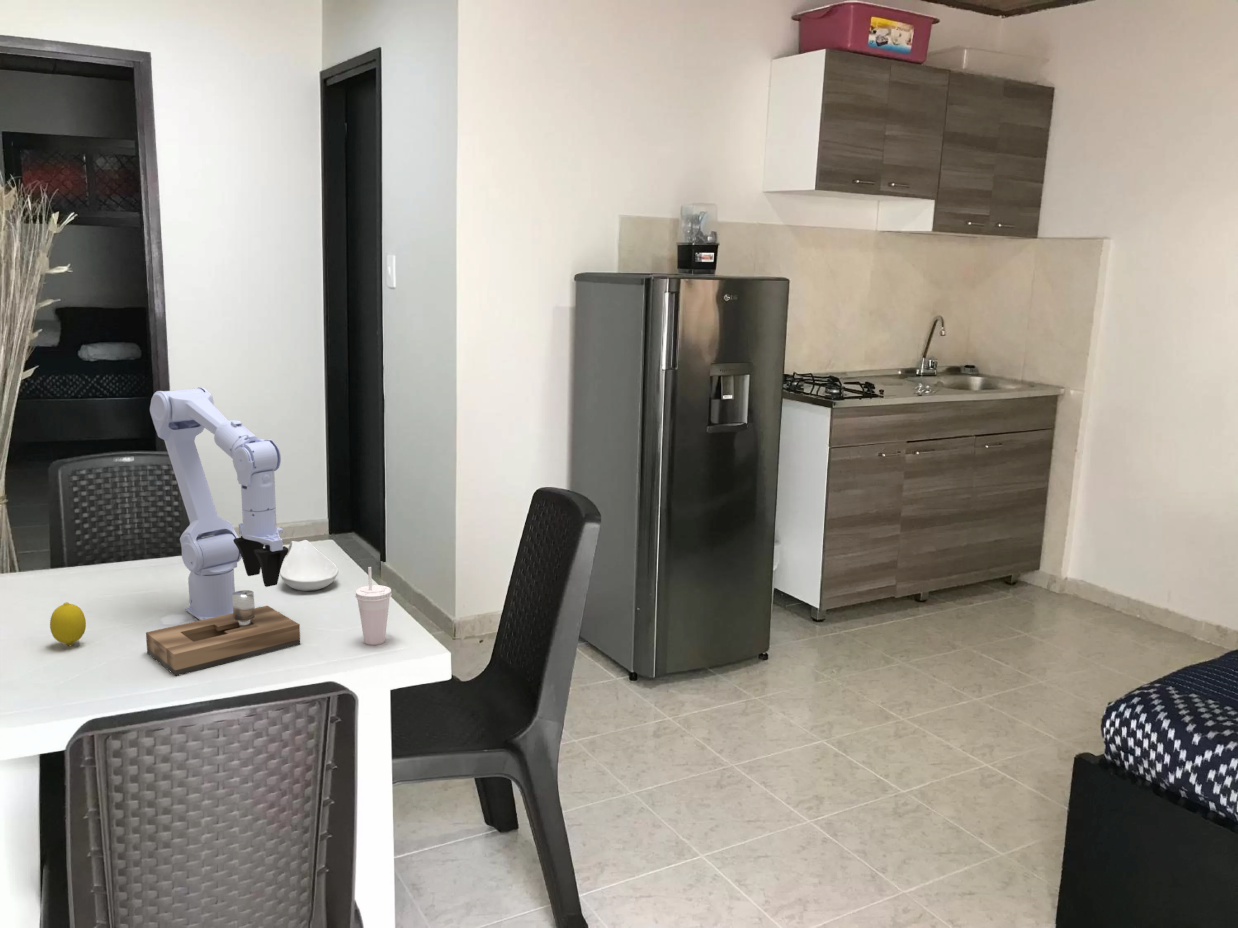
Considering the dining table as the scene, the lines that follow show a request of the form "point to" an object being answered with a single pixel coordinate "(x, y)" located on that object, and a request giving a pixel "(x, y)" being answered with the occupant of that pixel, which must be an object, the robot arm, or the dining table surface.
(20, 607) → the dining table surface
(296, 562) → the spoon rest
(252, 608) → the peg
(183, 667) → the keyhole board
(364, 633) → the smoothie
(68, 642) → the lemon
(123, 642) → the dining table surface
